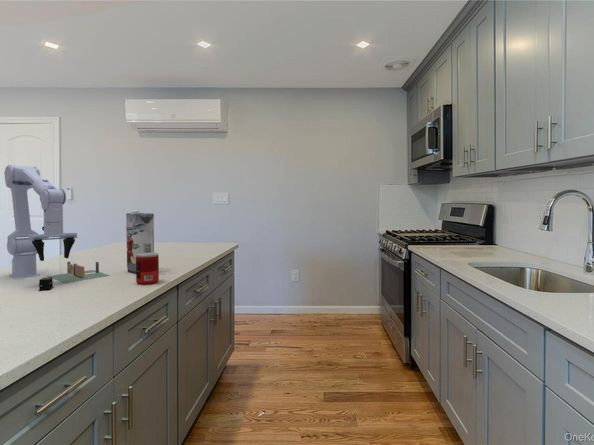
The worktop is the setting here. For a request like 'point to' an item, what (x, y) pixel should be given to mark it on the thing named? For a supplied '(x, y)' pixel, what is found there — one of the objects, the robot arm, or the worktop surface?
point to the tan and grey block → (72, 268)
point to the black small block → (45, 284)
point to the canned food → (147, 268)
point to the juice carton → (138, 236)
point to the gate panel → (79, 270)
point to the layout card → (71, 278)
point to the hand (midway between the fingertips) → (54, 259)
